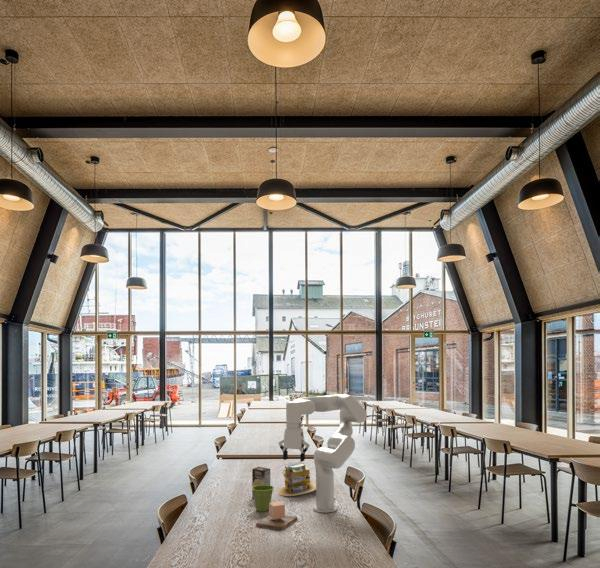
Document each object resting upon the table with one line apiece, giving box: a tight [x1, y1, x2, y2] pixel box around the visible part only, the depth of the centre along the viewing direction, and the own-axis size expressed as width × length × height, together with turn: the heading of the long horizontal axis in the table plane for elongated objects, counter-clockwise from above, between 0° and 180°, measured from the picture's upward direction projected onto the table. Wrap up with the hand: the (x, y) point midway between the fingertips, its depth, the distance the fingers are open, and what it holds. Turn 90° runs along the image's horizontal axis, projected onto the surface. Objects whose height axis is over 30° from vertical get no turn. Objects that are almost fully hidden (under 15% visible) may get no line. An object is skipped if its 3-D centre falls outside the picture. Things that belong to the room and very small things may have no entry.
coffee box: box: [251, 466, 271, 499], centre depth 287 cm, size 9×6×16 cm
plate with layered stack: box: [278, 461, 316, 497], centre depth 298 cm, size 25×25×17 cm
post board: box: [255, 514, 298, 532], centre depth 244 cm, size 16×14×8 cm
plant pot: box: [251, 484, 275, 512], centre depth 265 cm, size 12×12×11 cm
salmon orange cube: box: [268, 500, 286, 519], centre depth 245 cm, size 6×6×6 cm
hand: (293, 460), depth 253 cm, fingers open, 9 cm apart
